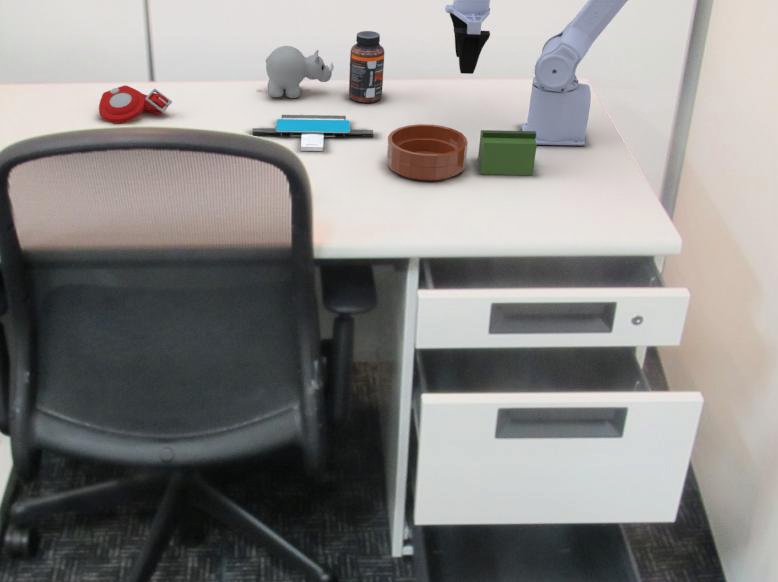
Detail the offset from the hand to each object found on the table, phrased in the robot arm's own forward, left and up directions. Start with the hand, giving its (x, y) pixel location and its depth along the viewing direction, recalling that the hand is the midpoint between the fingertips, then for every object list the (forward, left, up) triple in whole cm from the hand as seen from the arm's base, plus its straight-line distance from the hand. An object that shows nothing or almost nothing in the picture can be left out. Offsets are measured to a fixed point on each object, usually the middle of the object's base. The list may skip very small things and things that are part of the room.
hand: (464, 64), depth 183 cm
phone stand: (+25, +6, -11) cm, 28 cm away
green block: (-6, +17, -10) cm, 21 cm away
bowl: (+7, +17, -10) cm, 21 cm away
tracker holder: (+56, -2, -11) cm, 57 cm away
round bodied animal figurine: (+27, -13, -11) cm, 32 cm away
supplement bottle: (+16, -12, -11) cm, 22 cm away
